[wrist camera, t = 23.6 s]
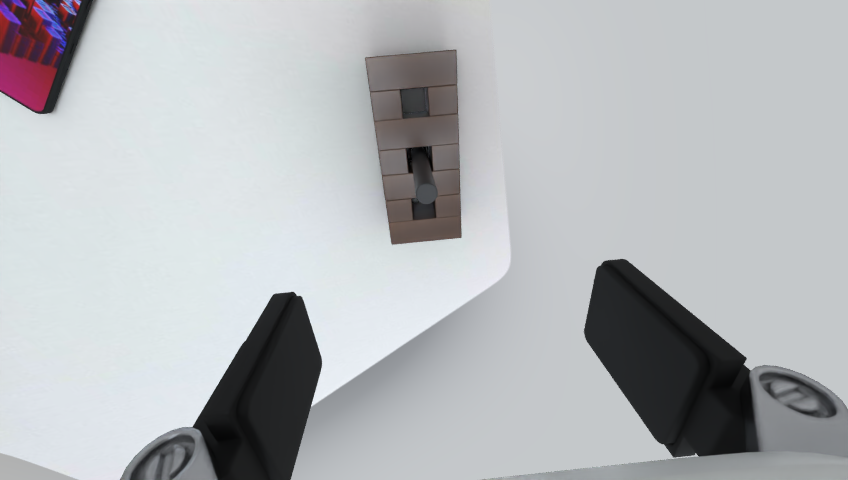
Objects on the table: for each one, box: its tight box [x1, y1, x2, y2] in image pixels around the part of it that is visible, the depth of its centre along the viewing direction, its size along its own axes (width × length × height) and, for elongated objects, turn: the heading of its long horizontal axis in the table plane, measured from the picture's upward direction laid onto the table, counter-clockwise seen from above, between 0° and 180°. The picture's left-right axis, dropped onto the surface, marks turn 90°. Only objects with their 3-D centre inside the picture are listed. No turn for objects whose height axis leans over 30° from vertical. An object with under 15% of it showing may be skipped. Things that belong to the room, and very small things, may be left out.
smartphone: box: [0, 0, 93, 114], centre depth 26 cm, size 8×1×15 cm
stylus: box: [411, 147, 438, 204], centre depth 27 cm, size 2×2×14 cm
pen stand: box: [365, 50, 461, 244], centre depth 31 cm, size 17×7×5 cm, turn 5°
